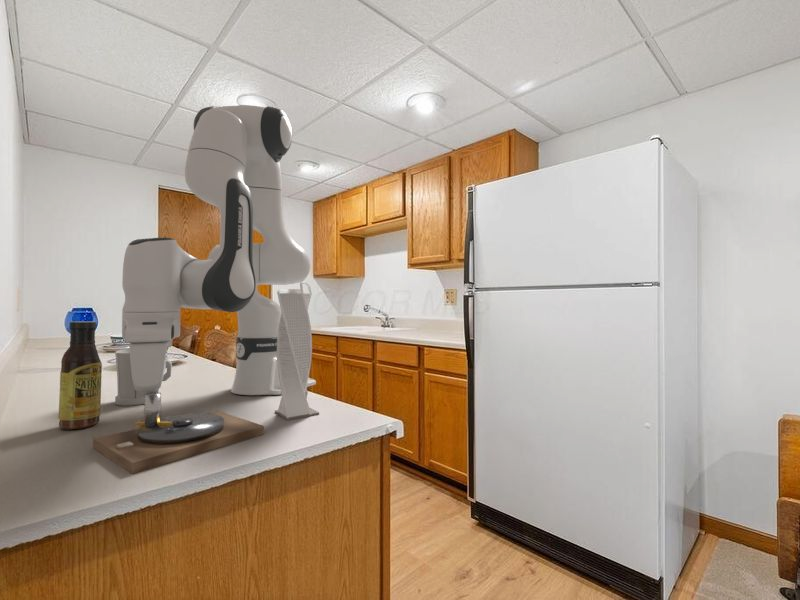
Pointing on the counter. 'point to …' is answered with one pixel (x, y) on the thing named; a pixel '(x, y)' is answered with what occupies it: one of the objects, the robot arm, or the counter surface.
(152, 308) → the robot arm
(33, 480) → the counter surface
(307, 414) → the skyscraper
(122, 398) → the cup
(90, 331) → the sauce bottle
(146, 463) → the stand
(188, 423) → the dial
